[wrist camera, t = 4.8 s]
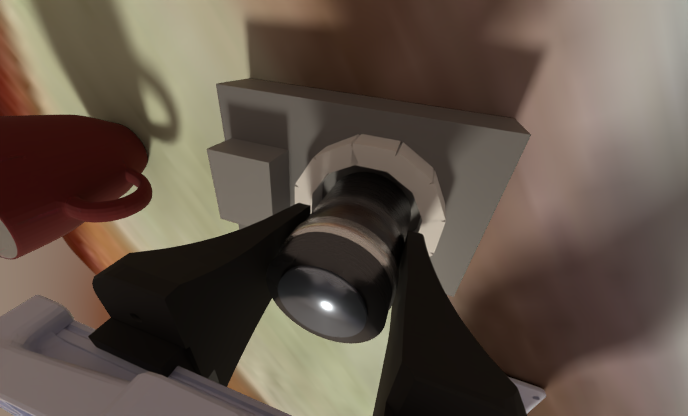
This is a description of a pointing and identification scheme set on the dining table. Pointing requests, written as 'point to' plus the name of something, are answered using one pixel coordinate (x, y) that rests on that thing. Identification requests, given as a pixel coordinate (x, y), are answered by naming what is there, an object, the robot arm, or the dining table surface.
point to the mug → (65, 177)
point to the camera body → (364, 160)
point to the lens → (344, 260)
